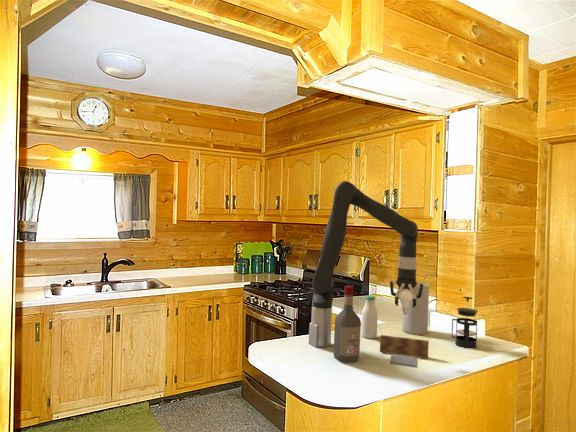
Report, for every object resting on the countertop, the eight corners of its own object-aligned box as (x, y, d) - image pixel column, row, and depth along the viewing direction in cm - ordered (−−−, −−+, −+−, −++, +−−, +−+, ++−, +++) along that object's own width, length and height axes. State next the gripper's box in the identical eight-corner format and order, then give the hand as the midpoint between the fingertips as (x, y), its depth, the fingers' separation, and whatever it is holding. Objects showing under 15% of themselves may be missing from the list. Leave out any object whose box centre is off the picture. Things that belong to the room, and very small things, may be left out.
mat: (390, 363, 162) (390, 362, 162) (391, 355, 172) (391, 354, 172) (416, 367, 160) (416, 365, 159) (415, 358, 169) (415, 357, 169)
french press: (477, 344, 193) (479, 296, 192) (479, 350, 184) (481, 300, 184) (451, 340, 197) (453, 293, 197) (451, 346, 188) (453, 297, 188)
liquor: (361, 361, 163) (364, 288, 163) (341, 364, 160) (344, 288, 160) (350, 354, 172) (353, 284, 172) (331, 356, 168) (334, 284, 168)
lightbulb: (395, 311, 174) (396, 286, 174) (409, 311, 175) (410, 286, 175) (400, 315, 168) (401, 289, 168) (415, 315, 168) (416, 289, 168)
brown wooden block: (379, 352, 175) (380, 336, 175) (380, 349, 180) (381, 333, 180) (428, 359, 169) (428, 342, 169) (427, 355, 174) (428, 339, 174)
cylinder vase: (424, 329, 215) (426, 282, 215) (429, 336, 203) (431, 286, 203) (400, 327, 217) (402, 281, 217) (404, 334, 205) (406, 285, 205)
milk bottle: (376, 339, 194) (378, 298, 194) (360, 338, 195) (362, 297, 195) (376, 335, 201) (378, 295, 201) (360, 333, 203) (362, 294, 203)
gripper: (389, 267, 169) (387, 306, 169) (425, 269, 166) (423, 310, 166) (389, 265, 177) (388, 303, 177) (424, 267, 173) (422, 306, 173)
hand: (405, 306), depth 171 cm, fingers closed on lightbulb, 6 cm apart
